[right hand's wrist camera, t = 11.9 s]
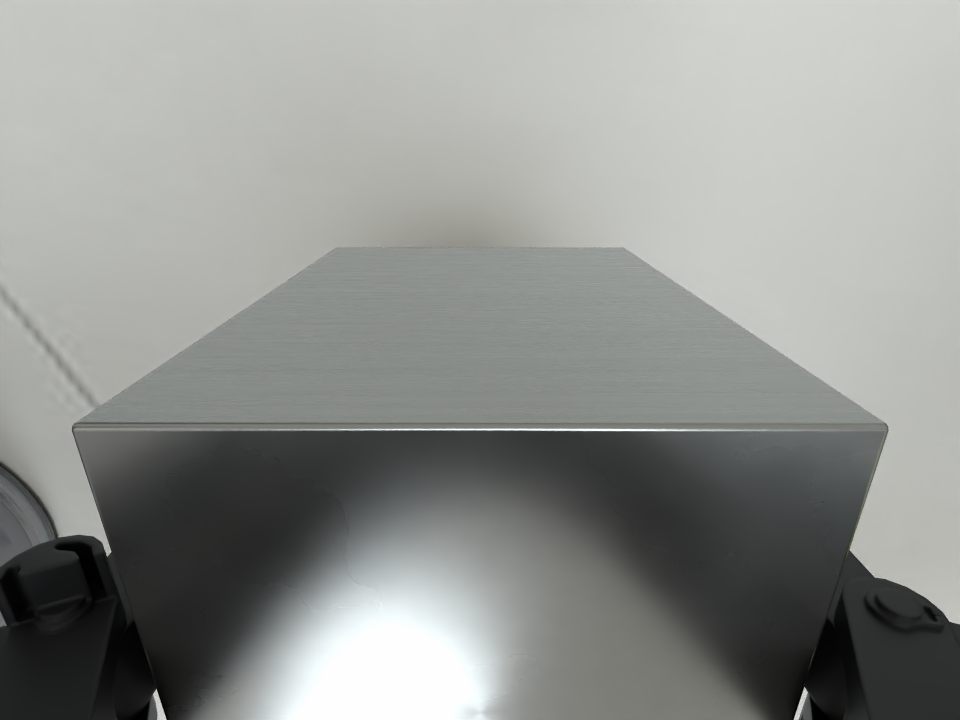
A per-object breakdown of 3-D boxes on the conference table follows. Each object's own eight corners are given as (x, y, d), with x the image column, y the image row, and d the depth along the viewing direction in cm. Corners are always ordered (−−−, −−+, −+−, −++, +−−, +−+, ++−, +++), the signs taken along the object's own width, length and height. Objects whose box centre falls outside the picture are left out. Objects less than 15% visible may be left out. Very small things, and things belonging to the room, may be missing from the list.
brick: (360, 494, 18) (220, 892, 9) (335, 247, 15) (65, 425, 5) (600, 494, 18) (739, 892, 9) (624, 247, 15) (894, 425, 5)
